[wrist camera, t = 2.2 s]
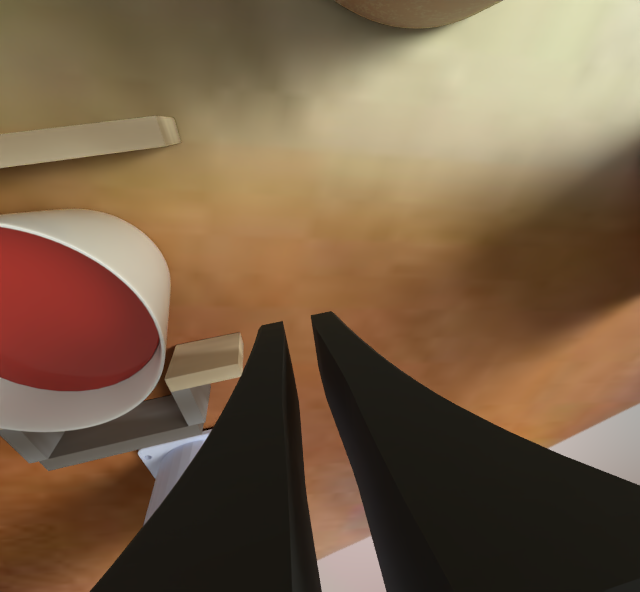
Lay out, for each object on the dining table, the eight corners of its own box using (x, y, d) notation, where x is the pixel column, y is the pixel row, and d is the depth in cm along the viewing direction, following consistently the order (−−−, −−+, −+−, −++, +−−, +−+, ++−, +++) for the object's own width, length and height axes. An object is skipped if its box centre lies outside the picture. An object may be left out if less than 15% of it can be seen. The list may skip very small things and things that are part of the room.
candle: (30, 343, 17) (-72, 442, 12) (-42, 175, 13) (-252, 210, 8) (198, 338, 19) (177, 422, 14) (183, 191, 15) (144, 228, 10)
